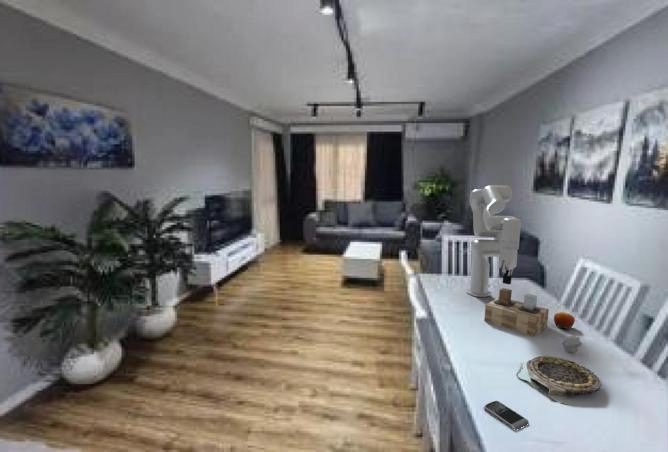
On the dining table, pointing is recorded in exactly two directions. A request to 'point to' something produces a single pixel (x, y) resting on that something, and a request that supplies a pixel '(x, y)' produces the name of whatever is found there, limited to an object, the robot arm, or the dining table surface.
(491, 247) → the robot arm
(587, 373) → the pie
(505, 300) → the walnut peg
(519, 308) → the oak block
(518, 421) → the cell phone
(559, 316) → the fruit
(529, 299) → the grey metal peg
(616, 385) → the dining table surface
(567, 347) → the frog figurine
